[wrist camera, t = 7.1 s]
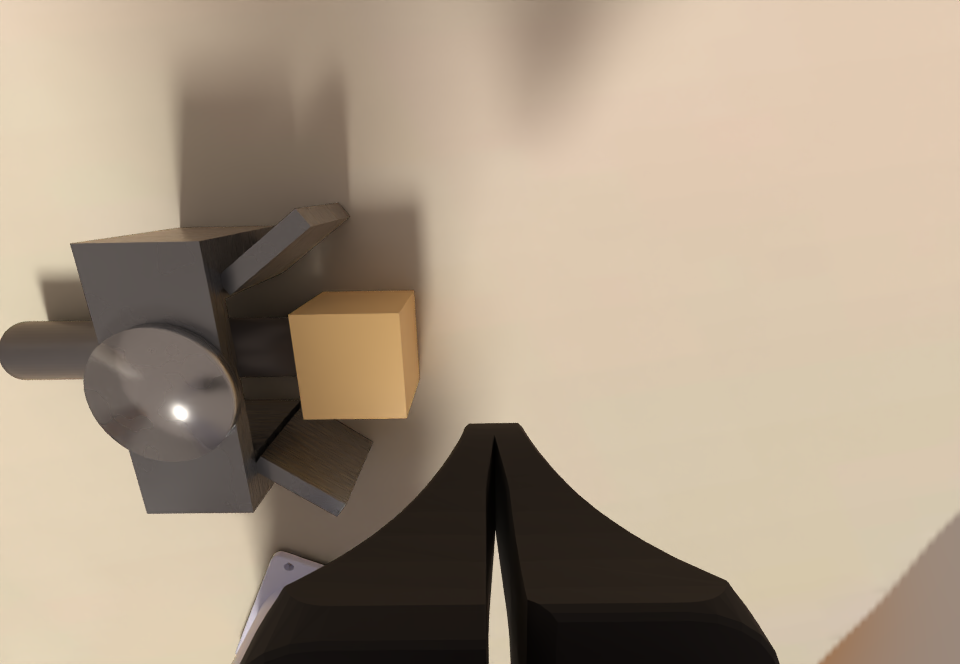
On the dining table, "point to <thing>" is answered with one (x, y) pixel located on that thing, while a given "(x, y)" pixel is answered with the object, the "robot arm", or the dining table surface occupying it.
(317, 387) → the plug
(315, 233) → the housing
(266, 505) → the dining table surface
